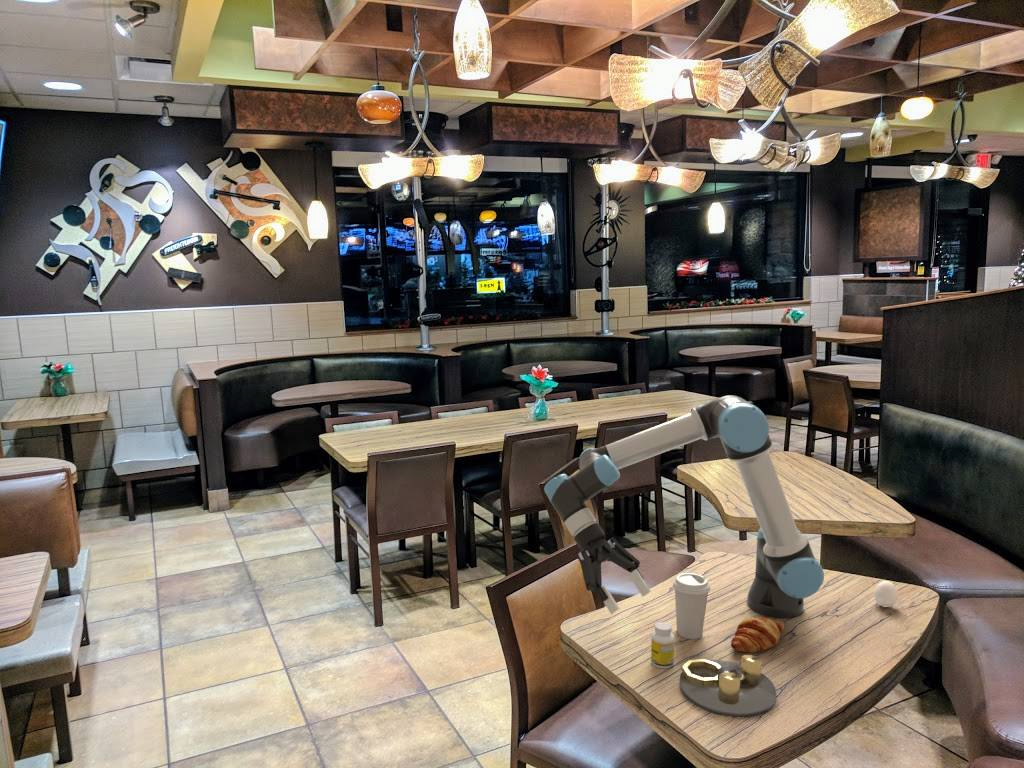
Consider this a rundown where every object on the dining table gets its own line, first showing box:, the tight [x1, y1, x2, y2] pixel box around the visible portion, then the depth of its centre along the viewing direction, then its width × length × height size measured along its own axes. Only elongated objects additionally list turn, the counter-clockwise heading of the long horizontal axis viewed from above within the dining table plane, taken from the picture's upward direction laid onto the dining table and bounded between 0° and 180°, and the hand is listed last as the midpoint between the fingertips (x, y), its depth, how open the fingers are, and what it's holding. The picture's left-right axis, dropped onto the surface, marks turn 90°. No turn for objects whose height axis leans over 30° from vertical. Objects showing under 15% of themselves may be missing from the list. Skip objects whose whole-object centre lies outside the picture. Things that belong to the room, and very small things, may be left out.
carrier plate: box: [679, 654, 777, 718], centre depth 169 cm, size 21×21×6 cm
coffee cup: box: [672, 572, 711, 640], centre depth 195 cm, size 10×10×15 cm
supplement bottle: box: [650, 621, 675, 669], centre depth 180 cm, size 5×5×10 cm
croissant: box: [730, 616, 784, 653], centre depth 191 cm, size 21×10×8 cm, turn 129°
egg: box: [873, 580, 899, 608], centre depth 212 cm, size 6×6×8 cm
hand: (631, 602), depth 185 cm, fingers open, 13 cm apart
